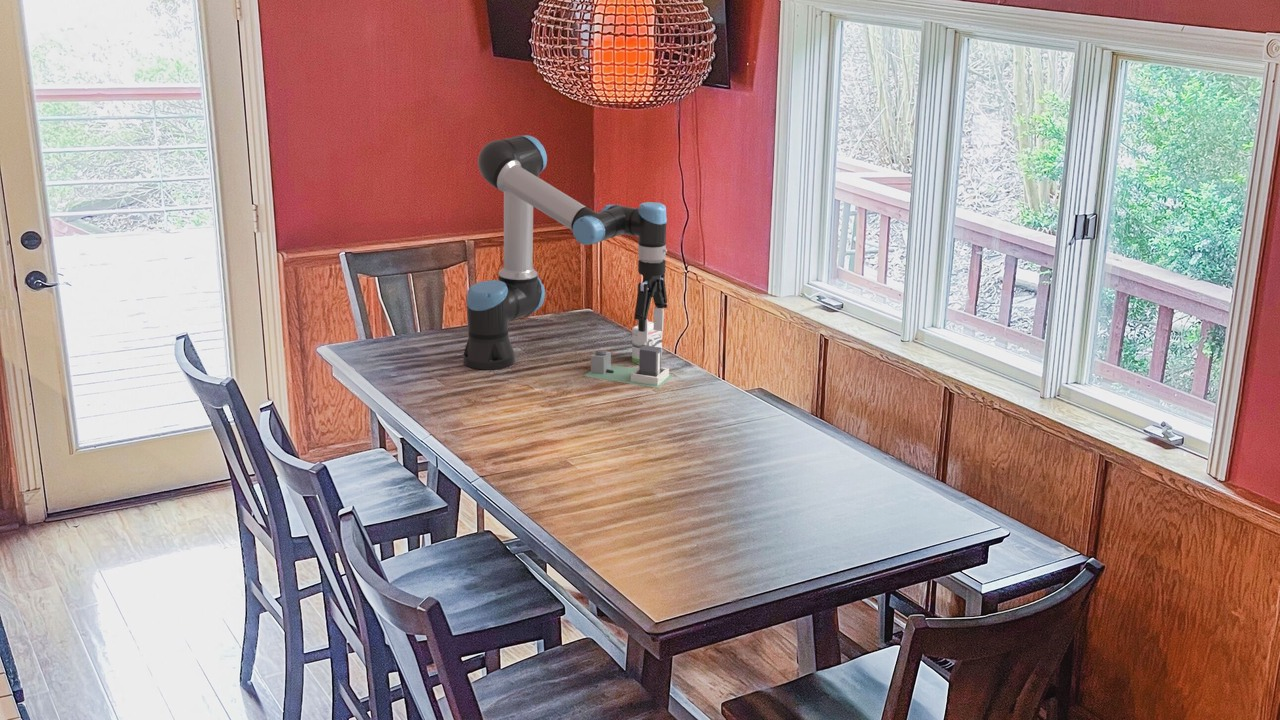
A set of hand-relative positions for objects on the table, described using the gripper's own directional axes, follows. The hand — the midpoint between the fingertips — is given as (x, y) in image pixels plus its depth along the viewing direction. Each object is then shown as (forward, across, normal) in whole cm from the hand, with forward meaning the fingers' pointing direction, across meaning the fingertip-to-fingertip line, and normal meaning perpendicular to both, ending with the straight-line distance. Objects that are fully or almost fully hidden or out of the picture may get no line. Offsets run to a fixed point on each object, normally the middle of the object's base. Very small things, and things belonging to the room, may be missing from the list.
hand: (650, 335), depth 349 cm
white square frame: (+13, 0, 0) cm, 13 cm away
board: (+14, 0, +6) cm, 15 cm away
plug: (+13, 0, 0) cm, 13 cm away
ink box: (+14, +14, +7) cm, 21 cm away
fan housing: (+13, 0, +14) cm, 19 cm away
